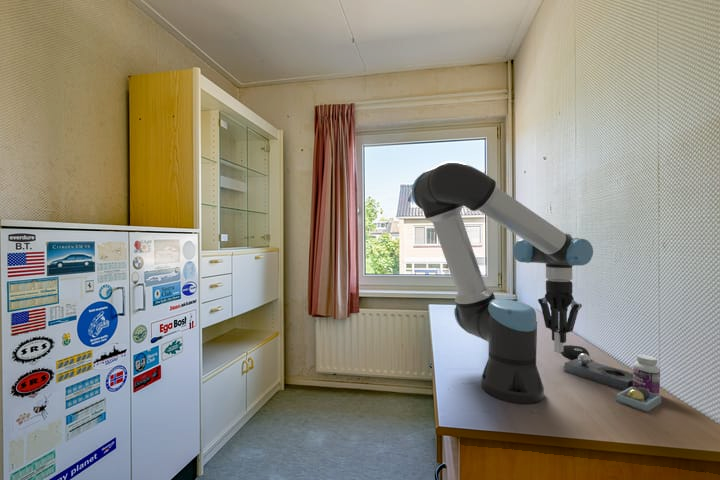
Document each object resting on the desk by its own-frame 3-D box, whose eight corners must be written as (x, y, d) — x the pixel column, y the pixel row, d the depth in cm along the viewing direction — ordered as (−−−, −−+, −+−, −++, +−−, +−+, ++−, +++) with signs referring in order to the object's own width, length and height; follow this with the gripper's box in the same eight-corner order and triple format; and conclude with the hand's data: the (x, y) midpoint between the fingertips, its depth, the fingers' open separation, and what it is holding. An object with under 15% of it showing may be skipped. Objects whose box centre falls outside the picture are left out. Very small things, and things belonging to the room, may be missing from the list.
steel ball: (587, 366, 97) (587, 356, 97) (575, 363, 100) (575, 352, 100) (592, 364, 99) (592, 354, 99) (580, 361, 101) (581, 351, 102)
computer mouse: (570, 362, 108) (570, 351, 108) (557, 351, 119) (557, 340, 119) (595, 365, 106) (595, 353, 106) (580, 353, 118) (580, 342, 118)
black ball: (646, 402, 79) (646, 391, 79) (632, 397, 82) (632, 386, 82) (651, 399, 81) (651, 388, 81) (637, 395, 83) (637, 384, 83)
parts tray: (647, 412, 75) (647, 404, 75) (616, 401, 80) (616, 394, 80) (661, 403, 80) (661, 395, 80) (631, 393, 85) (631, 386, 85)
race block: (627, 391, 86) (627, 382, 86) (564, 370, 100) (564, 362, 100) (641, 384, 91) (641, 375, 91) (578, 365, 105) (579, 357, 105)
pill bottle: (627, 389, 87) (628, 354, 87) (640, 387, 89) (641, 352, 89) (651, 399, 82) (651, 361, 82) (664, 396, 84) (665, 359, 84)
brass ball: (641, 407, 77) (641, 393, 77) (624, 401, 80) (624, 388, 80) (646, 403, 79) (646, 390, 79) (630, 398, 81) (630, 385, 81)
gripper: (586, 281, 102) (586, 355, 102) (545, 277, 114) (545, 344, 113) (574, 282, 99) (574, 359, 98) (533, 278, 110) (533, 347, 109)
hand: (558, 351), depth 106 cm, fingers closed
